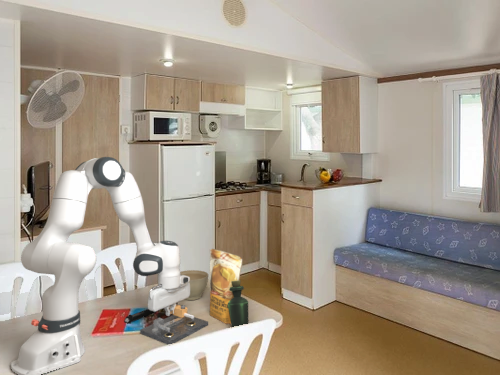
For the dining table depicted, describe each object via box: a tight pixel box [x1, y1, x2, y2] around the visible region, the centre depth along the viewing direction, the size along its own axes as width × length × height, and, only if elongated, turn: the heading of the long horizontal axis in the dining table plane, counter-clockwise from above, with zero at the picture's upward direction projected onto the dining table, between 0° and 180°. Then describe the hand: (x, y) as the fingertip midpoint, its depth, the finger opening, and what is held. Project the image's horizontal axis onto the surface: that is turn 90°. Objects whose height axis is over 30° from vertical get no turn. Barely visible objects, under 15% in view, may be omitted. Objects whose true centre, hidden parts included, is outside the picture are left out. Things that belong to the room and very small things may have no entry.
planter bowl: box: [180, 269, 209, 301], centre depth 195 cm, size 16×16×11 cm
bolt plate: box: [139, 312, 209, 346], centre depth 161 cm, size 21×16×6 cm
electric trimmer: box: [123, 308, 158, 325], centre depth 172 cm, size 4×16×3 cm, turn 140°
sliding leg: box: [170, 303, 195, 322], centre depth 166 cm, size 3×12×5 cm, turn 55°
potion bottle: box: [228, 279, 250, 328], centre depth 161 cm, size 8×8×18 cm
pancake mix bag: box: [208, 248, 243, 325], centre depth 171 cm, size 7×19×28 cm, turn 41°
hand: (169, 314), depth 166 cm, fingers closed
